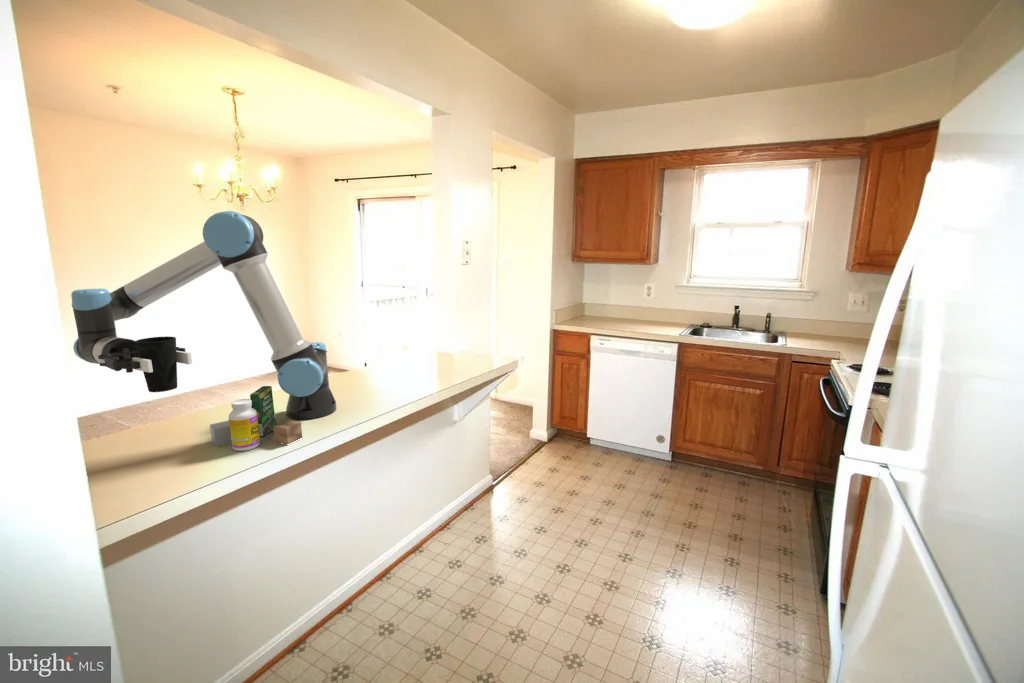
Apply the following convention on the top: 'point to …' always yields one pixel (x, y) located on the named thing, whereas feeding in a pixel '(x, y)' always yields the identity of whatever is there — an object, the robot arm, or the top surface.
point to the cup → (159, 362)
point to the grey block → (220, 433)
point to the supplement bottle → (244, 426)
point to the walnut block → (287, 432)
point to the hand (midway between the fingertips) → (170, 362)
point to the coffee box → (264, 409)
